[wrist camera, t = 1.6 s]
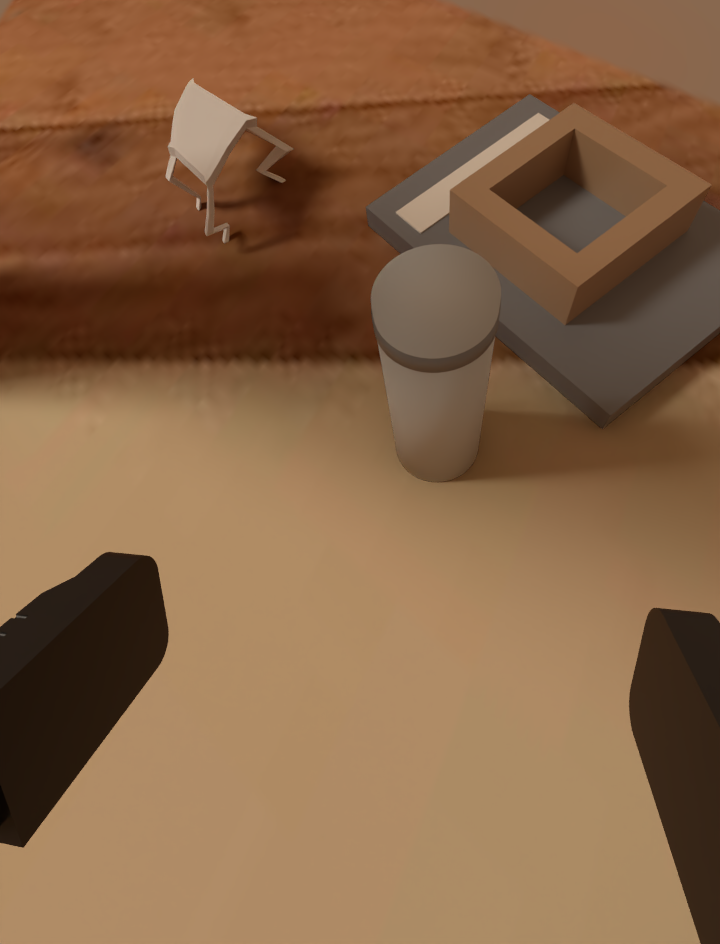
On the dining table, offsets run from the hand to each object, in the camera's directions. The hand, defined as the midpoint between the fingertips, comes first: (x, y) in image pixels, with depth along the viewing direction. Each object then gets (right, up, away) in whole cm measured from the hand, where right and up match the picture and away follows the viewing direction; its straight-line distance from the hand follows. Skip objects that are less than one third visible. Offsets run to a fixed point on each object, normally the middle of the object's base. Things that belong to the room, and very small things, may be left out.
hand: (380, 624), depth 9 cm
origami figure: (-9, +23, +31) cm, 40 cm away
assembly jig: (+12, +16, +24) cm, 32 cm away
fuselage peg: (+4, +4, +21) cm, 21 cm away
